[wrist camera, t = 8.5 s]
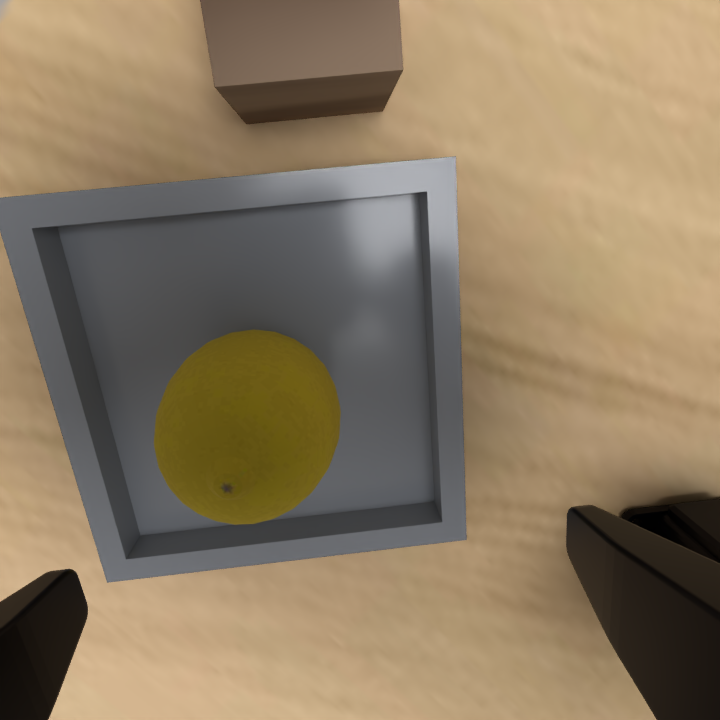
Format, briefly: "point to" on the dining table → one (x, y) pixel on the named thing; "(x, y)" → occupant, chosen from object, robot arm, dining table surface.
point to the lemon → (247, 427)
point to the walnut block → (303, 56)
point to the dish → (247, 312)
